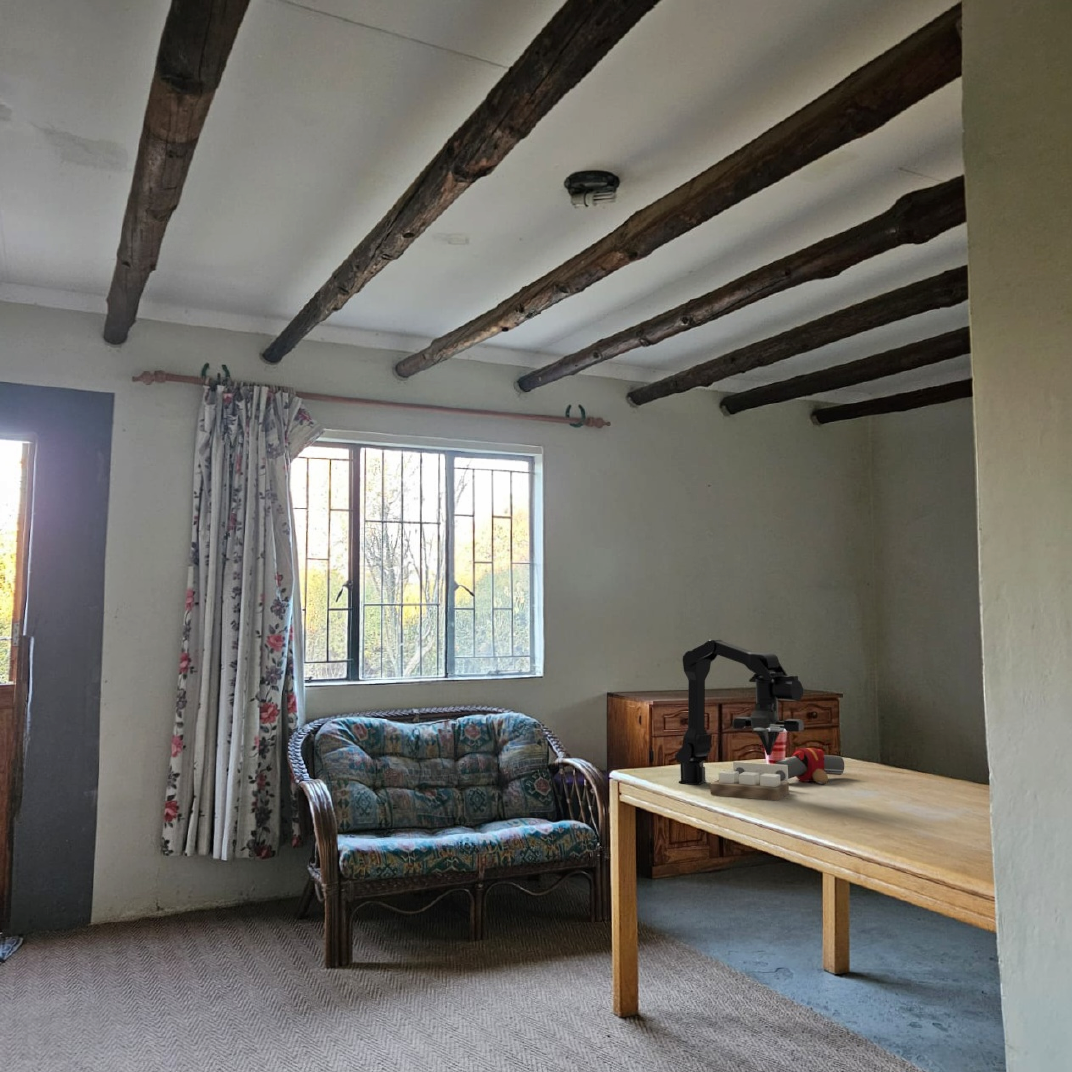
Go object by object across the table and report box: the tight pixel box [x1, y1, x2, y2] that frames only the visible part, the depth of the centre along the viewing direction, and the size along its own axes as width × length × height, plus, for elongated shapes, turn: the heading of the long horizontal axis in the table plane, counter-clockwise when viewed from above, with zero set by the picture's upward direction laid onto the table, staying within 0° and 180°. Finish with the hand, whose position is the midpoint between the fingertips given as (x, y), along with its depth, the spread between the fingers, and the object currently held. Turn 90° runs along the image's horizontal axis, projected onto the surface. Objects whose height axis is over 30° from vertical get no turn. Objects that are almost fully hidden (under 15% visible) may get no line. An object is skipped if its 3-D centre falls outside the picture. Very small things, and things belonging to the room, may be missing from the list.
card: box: [732, 761, 789, 783], centre depth 267 cm, size 16×1×7 cm, turn 59°
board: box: [709, 779, 790, 801], centre depth 258 cm, size 19×11×3 cm, turn 58°
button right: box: [760, 774, 781, 787], centre depth 255 cm, size 4×4×4 cm
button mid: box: [739, 772, 760, 785], centre depth 258 cm, size 4×4×4 cm
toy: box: [774, 747, 845, 785], centre depth 277 cm, size 23×10×15 cm
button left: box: [718, 770, 739, 784], centre depth 262 cm, size 4×4×4 cm
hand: (768, 755), depth 256 cm, fingers closed
